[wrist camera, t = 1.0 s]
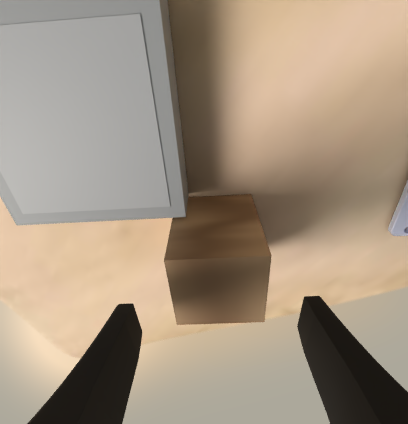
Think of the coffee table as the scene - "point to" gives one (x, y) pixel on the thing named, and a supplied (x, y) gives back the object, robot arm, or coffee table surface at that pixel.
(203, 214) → the walnut block
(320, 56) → the coffee table surface
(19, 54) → the plinth
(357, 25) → the coffee table surface
